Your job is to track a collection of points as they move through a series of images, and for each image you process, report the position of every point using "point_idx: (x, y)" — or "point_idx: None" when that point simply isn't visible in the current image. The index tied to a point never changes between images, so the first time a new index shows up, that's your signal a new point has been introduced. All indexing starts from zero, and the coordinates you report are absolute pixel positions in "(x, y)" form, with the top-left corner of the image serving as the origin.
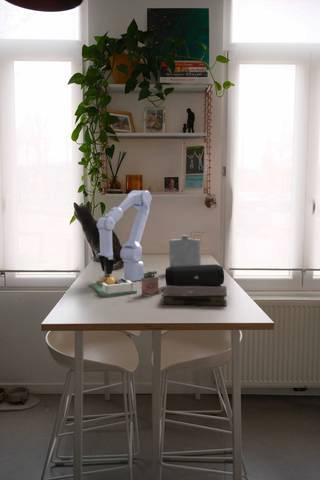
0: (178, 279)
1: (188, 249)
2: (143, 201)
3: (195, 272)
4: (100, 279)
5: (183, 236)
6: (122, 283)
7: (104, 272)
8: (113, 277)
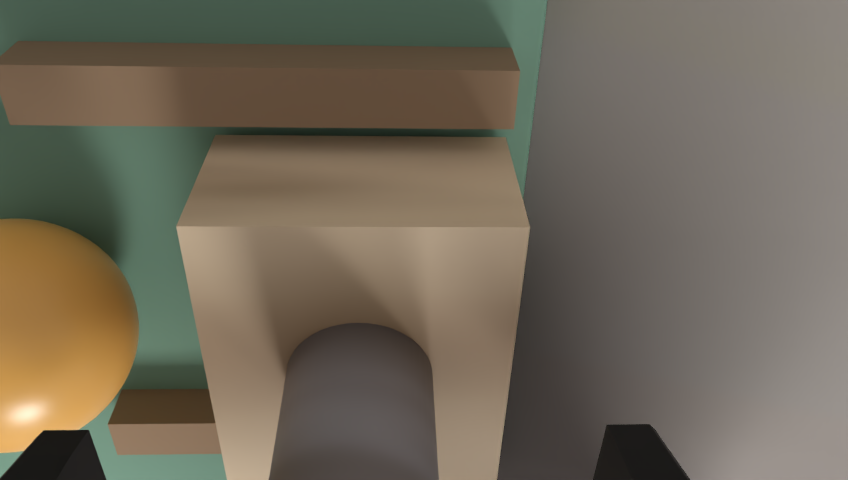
0: None
1: None
2: None
3: None
4: (415, 180)
5: None
6: (208, 463)
7: (359, 423)
8: (225, 460)
